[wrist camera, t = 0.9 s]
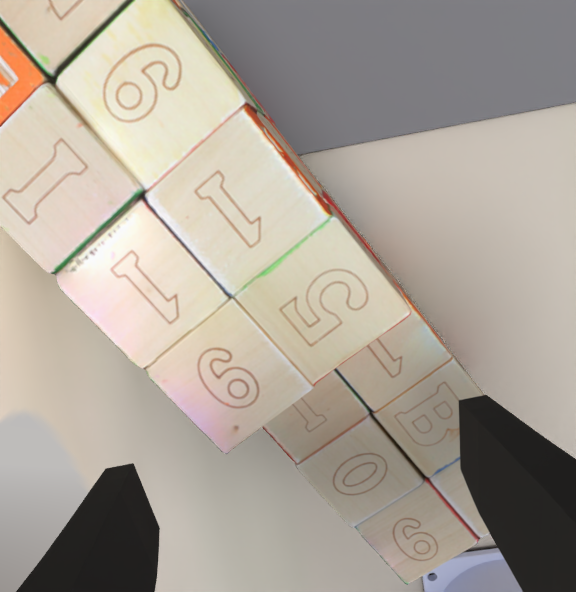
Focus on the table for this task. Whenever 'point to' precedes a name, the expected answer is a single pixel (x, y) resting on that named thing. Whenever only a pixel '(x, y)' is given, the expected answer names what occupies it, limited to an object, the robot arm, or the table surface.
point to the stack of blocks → (228, 265)
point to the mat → (394, 62)
